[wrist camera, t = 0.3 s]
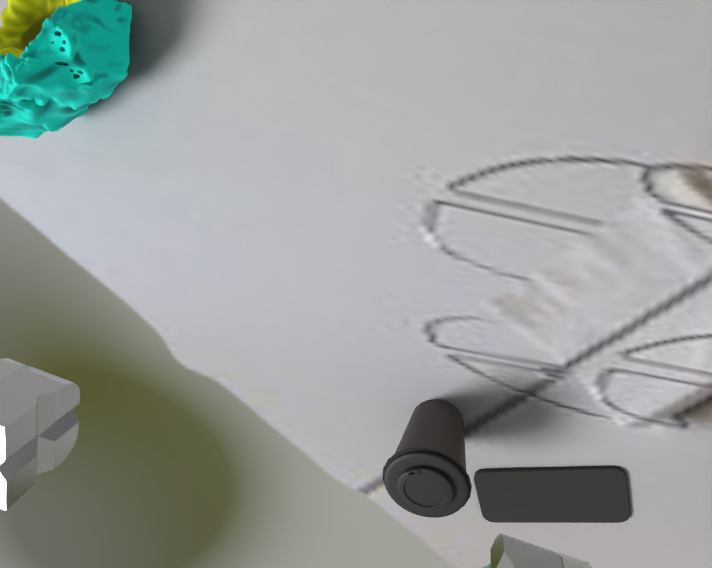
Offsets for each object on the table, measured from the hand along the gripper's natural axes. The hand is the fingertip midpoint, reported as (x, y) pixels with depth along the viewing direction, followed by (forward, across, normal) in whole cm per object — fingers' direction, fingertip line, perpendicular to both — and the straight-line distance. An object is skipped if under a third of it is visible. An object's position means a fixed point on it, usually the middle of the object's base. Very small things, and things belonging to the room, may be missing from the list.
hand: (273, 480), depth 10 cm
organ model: (+40, +34, -2) cm, 53 cm away
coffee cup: (+42, -7, +25) cm, 50 cm away
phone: (+43, -20, +30) cm, 56 cm away
